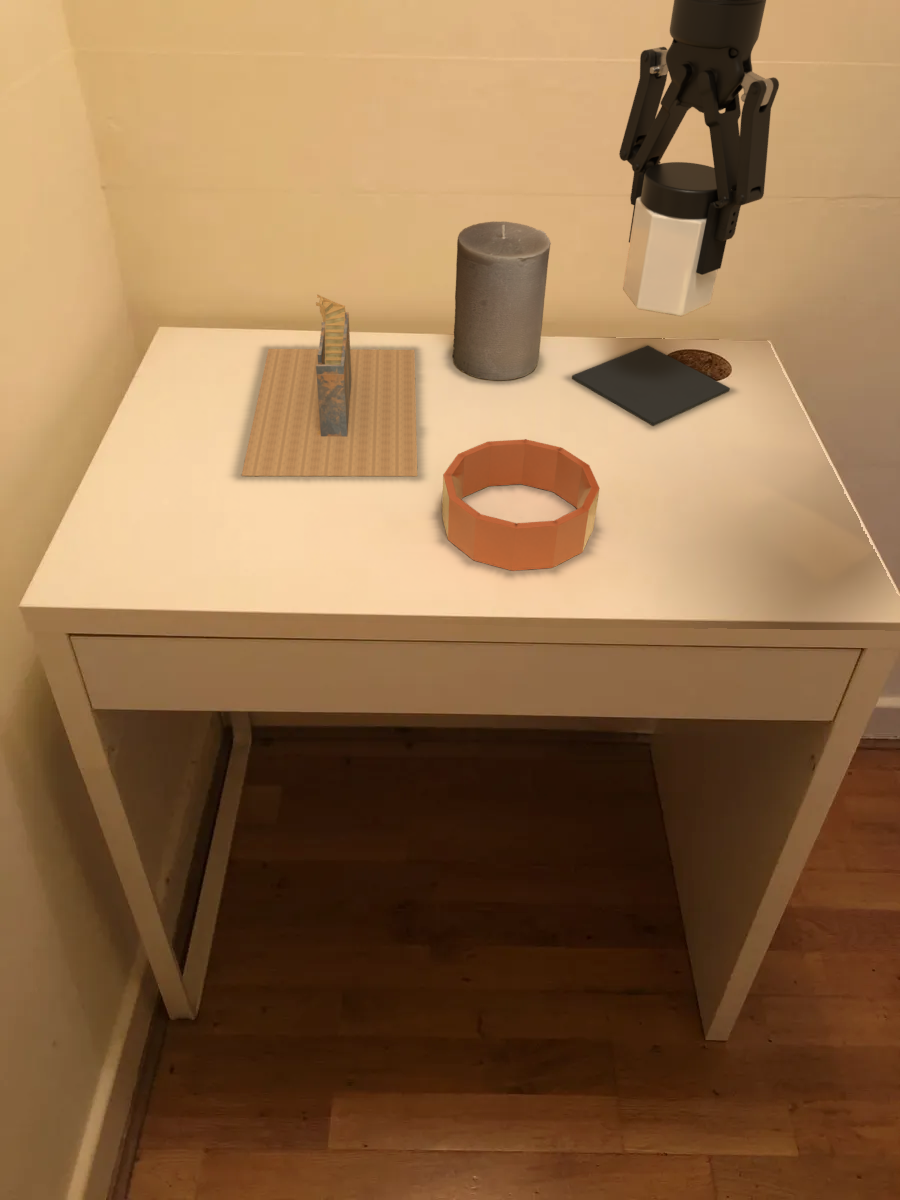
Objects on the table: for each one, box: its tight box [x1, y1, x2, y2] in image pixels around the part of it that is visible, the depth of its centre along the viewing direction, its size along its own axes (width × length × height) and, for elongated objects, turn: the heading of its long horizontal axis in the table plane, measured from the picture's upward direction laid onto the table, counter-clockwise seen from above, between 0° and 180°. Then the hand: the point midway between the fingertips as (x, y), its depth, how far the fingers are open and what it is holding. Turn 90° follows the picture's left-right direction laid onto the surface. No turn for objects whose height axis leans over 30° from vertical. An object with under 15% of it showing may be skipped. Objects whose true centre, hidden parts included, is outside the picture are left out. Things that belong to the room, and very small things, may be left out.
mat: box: [571, 345, 731, 426], centre depth 106 cm, size 12×12×1 cm
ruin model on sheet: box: [241, 294, 418, 477], centre depth 98 cm, size 25×16×10 cm, turn 2°
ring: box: [441, 438, 601, 572], centre depth 86 cm, size 13×13×4 cm
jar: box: [622, 161, 719, 317], centre depth 96 cm, size 9×8×12 cm
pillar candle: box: [451, 221, 552, 381], centre depth 104 cm, size 10×10×15 cm
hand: (673, 254), depth 97 cm, fingers closed on jar, 8 cm apart
